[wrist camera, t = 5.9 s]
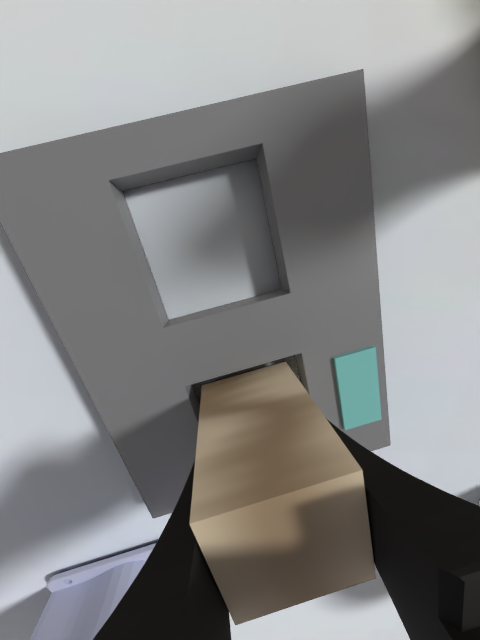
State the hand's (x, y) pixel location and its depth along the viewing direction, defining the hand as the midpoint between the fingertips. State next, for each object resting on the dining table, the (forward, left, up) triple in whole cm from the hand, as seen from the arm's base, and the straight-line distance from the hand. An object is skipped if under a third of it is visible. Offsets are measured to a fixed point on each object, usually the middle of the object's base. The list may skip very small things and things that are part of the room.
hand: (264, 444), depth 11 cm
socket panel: (0, +5, -3) cm, 6 cm away
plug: (0, 0, -2) cm, 3 cm away
